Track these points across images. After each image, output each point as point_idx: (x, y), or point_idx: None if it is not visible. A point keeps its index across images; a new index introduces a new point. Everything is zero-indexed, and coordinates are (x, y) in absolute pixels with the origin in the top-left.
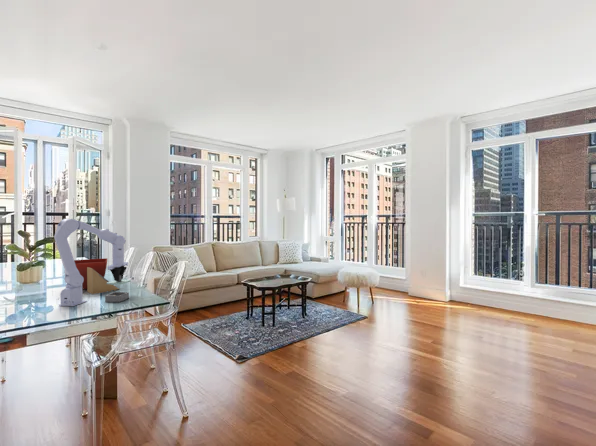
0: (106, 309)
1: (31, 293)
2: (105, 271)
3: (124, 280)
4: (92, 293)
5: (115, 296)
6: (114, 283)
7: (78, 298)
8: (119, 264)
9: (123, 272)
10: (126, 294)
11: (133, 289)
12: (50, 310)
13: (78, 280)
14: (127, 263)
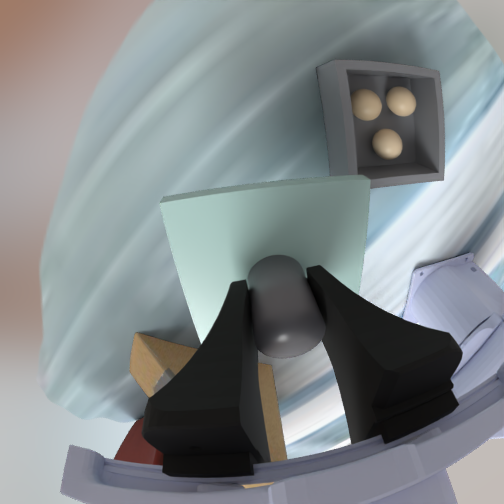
0: (490, 74)
1: (307, 448)
2: (117, 459)
3: (208, 261)
4: (271, 368)
5: (439, 99)
6: (363, 248)
7: (462, 278)
8: (439, 475)
9: (228, 343)
10: (360, 62)
11: (87, 265)
12: (492, 275)
13: None
14: (74, 479)
